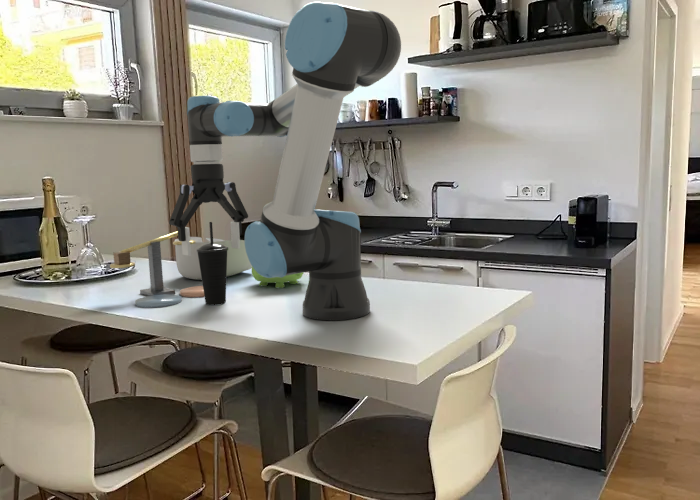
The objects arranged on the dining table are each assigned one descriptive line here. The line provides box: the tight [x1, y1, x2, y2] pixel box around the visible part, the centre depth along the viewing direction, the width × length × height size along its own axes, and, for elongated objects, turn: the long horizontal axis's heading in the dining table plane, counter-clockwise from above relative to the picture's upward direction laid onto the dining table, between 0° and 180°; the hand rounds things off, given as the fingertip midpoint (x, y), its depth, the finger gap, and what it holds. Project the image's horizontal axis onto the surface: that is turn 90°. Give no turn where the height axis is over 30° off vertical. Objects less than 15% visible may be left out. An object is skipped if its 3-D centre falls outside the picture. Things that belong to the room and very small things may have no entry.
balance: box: [109, 230, 196, 297], centre depth 165 cm, size 8×24×16 cm, turn 133°
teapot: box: [251, 267, 305, 289], centre depth 174 cm, size 16×14×13 cm
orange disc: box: [179, 285, 205, 298], centre depth 166 cm, size 11×11×1 cm
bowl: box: [174, 236, 252, 281], centre depth 189 cm, size 20×19×12 cm
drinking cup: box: [196, 221, 228, 306], centre depth 152 cm, size 8×8×20 cm
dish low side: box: [135, 294, 183, 309], centre depth 156 cm, size 11×11×1 cm
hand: (212, 251), depth 152 cm, fingers open, 13 cm apart
